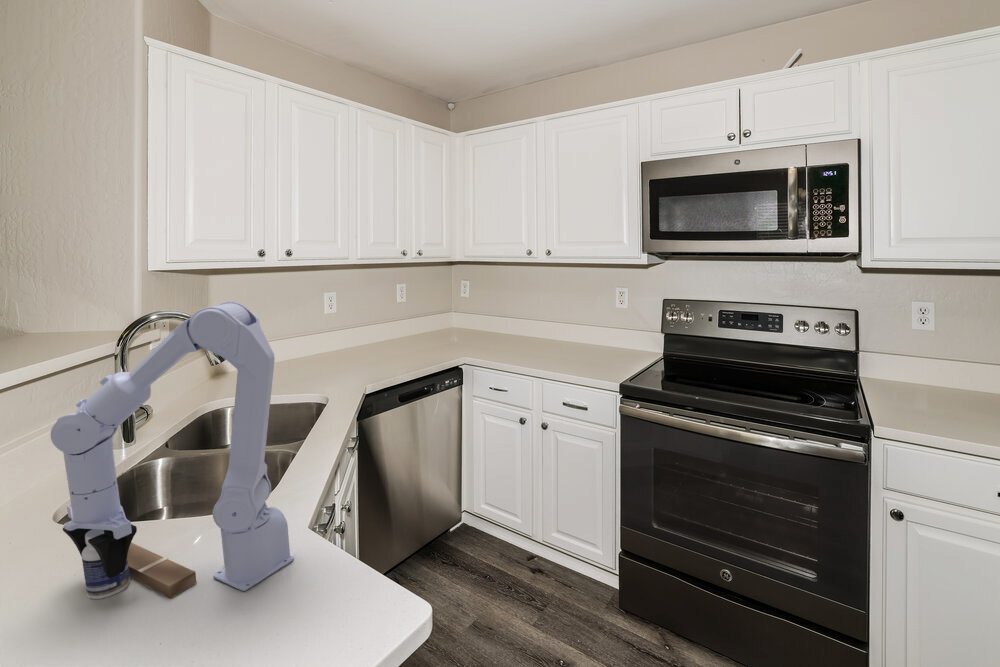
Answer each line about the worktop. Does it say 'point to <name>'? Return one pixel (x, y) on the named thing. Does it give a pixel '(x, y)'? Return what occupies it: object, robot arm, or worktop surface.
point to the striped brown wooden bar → (158, 572)
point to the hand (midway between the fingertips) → (105, 568)
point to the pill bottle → (100, 572)
